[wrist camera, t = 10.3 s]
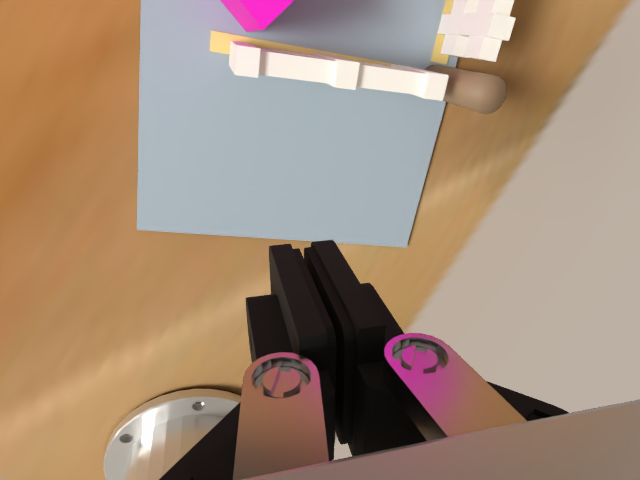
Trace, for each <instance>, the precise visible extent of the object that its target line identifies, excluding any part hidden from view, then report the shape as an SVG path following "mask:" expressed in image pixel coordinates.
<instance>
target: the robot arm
mask: <svg viewBox="0 0 640 480" xmlns="http://www.w3.org/2000/svg"><path fill="white" fill-rule="evenodd" d="M269 262H270V281H271V295H264V296H256V297H248V298H246V311H247V323H248V334H249V343H250V352H251V359H252V364H251V365H250V366H249V367H248V368H247V370H246V371H245V374H244V377H243V384H242V394H241V396H240V395H237V394H234V393H231V392H228V391H221V390H215V389H190V390H182V391H176V392H173V393H169V394H166V395H162V396H159V397H157V398H155V399H153V400H150V401H148V402H146V403H144V404H143V405H141V406H139V407H138V408H136V409H135V410H133V411H132V412H130V413H129V414H128V415H127V416H126V417H125V418H124V419H123V420H122V421H121V422H120V423H119V424H118V426H117V427H116V428H115V430H114V431H113V433H112V434H111V437H110V439H109V441H108V444H107V447H106V452H105V457H104V475H105V478H106V480H640V400H636V401H630V402H625V403H620V404H615V405H609V406H605V407H599V408H593V409H588V410H583V411H578V412H573V413H568V412H567V411H565V410H563V409H561V408H558V407H556V406H554V405H551V404H548V403H545V402H543V401H540V400H537V399H534V398H532V397H529V396H526V395H523V394H520V393H518V392H514V391H512V390H509V389H507V388H504V387H501V386H498V385H495V384H492V383H490V382H487V381H485V380H484V379H483V378H482V377H481V376H480V375H479V374H478V373H477V372H476V371H475V370H474V369H473V368H472V367H471V366H469V365H468V364H467V363H466V362H465V361H464V360H463V359H462V358H461V357H460V356H459V355H458V354H457V353H456V352H455V351H454V350H453V349H452V348H451V347H450V346H449V345H447V344H446V343H445V342H443V341H442V340H440V339H438V338H435V337H433V336H430V335H425V334H420V333H408V334H404V333H403V331H402V330H401V328H400V327H399V325H398V324H397V322H396V321H395V319H394V318H393V316H392V314H391V313H390V311H389V310H388V308H387V307H386V305H385V304H384V302H383V301H382V299H381V298H380V296H379V295H378V293H377V292H376V290H375V289H374V287H373V286H372V285H371V284H370V283H363V284H360V282H359V281H358V279H357V278H356V276H355V274H354V273H353V271H352V270H351V268H350V266H349V265H348V263H347V261H346V260H345V258H344V257H343V255H342V253H341V252H340V250H339V249H338V247H337V245H336V244H335V242H334V241H333V240H324V241H314V242H312V243H311V247H308V248H305V249H304V258H303V256H302V254H301V252H300V249H299V248H298V249H292V246H291V244H284V245H274V246H269ZM335 431H336V434H337V437H338V440H339V442H340V444H346V443H348V445H349V448H350V451H351V454H352V457H348V458H343V459H338V460H334V461H332V460H333V459H334V443H335Z"/></svg>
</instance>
